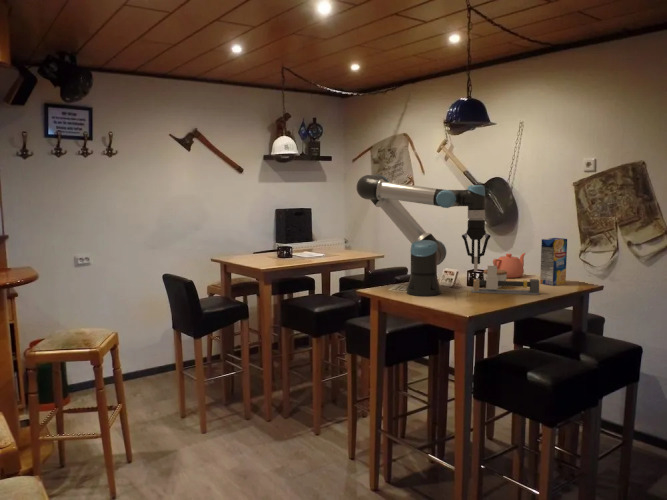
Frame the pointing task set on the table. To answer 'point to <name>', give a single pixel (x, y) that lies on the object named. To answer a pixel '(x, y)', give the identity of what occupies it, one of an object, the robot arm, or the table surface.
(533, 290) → the cord rig
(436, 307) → the table surface
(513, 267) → the teapot
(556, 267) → the beverage box
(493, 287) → the grey upright block
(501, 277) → the lidded jar
